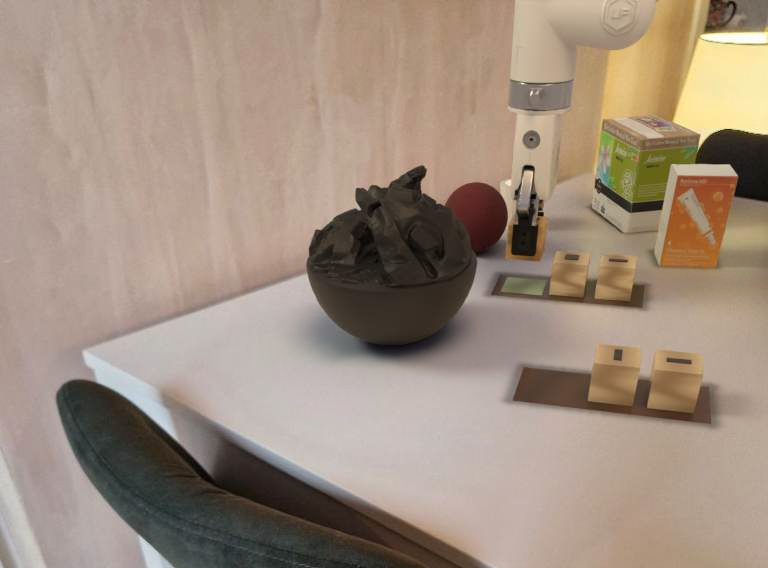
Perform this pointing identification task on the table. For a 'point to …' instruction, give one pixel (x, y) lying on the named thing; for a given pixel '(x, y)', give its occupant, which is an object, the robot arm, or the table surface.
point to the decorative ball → (480, 213)
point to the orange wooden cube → (540, 240)
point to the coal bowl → (392, 264)
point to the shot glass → (508, 198)
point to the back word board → (579, 281)
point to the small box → (695, 214)
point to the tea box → (638, 168)
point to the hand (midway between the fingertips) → (526, 246)
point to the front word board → (578, 393)
